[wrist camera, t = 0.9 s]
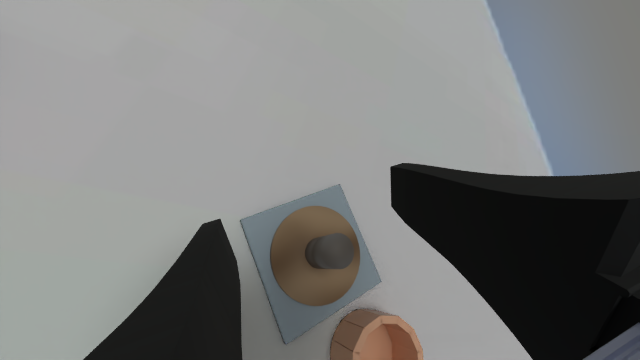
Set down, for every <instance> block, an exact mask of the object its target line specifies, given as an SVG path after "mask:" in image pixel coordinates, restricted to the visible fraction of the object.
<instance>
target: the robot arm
mask: <svg viewBox="0 0 640 360" xmlns="http://www.w3.org/2000/svg"><path fill="white" fill-rule="evenodd" d="M391 207H392V208H393V209H394V210H395V212H396V213H397V214H398V215H399V216H400V217H401V219H402V220H403V221H404V222H405V223H406V224H407V225H408V226H409V227H410V228H411V229H413V230H414V231H415V232H416V233H417V234H418V235H419V236H421V237H422V238H423V239H424V240H425V241H426V242H427V243H429V244H430V245H431V246H432V247H433V248H434V249H436V250H437V251H438V252H439V253H440V254H441V255H442V256H444V257H445V258H446V259H447V260H448V261H449V262H450V263H451V264H452V265H453V266H454V267H455V268H456V269H457V270H458V271H459V272H460V273H461V274H462V275H463V276H464V277H465V278H466V280H467V281H468V282H469V283H470V284H471V285H472V286H473V287H474V288H475V289H476V290H477V292H478V293H479V294H480V295H481V296H482V297H483V298H484V300H485V301H486V302H487V303H488V304H489V305H490V306H491V308H492V309H493V310H494V311H495V312H496V314H497V315H498V316H499V317H500V318H501V320H502V321H503V322H504V323H505V325H506V326H507V327H508V328H509V329H510V331H511V332H512V333H513V334H514V336H515V337H516V338H517V339H518V341H519V342H520V343H521V345H522V346H523V347H524V349H525V350H526V351H527V353H528V354H529V355H530V356H531V358H532V359H533V360H640V171H637V172H626V173H616V174H601V175H583V176H514V175H497V174H486V173H477V172H469V171H461V170H454V169H447V168H441V167H434V166H427V165H420V164H411V163H401V164H398V165H395V166H392V167H391ZM83 360H242V347H241V292H240V279H239V272H238V266H237V260H236V258H235V255H234V253H233V250H232V247H231V245H230V242H229V240H228V237H227V235H226V232H225V230H224V227H223V225H222V222H221V220H220V219H217V220H214V221H211V222H208V223H204V224H202V226H201V227H200V228H199V230H198V231H197V232H196V234H195V235H194V237H193V238H192V240H191V241H190V243H189V244H188V245H187V247H186V248H185V250H184V251H183V252H182V254H181V255H180V256H179V258H178V259H177V261H176V262H175V263H174V264H173V266H172V267H171V268H170V269H169V271H168V272H167V273H166V274H165V276H164V277H163V278H162V279H161V281H160V282H159V283H158V284H157V286H156V287H155V288H154V289H153V290H152V292H151V293H150V294H149V295H148V296H147V297H146V298H145V299H144V300H143V302H142V303H141V304H140V305H139V306H138V307H137V308H136V309H135V310H134V311H133V312H132V313H131V314H130V315H129V316H128V317H127V318H126V319H125V320H124V321H123V322H122V323H121V324H120V325H119V326H118V327H117V328H116V329H115V330H114V331H113V332H112V333H111V334H110V335H109V336H108V337H107V338H106V339H105V340H103V341H102V342H101V343H100V344H99V345H98V346H97V347H96V348H95V349H94V350H93V351H92V352H91V353H90V354H89V355H88V356H87V357H85V358H84V359H83Z"/></svg>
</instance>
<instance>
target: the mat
mask: <svg viewBox="0 0 640 360" xmlns="http://www.w3.org/2000/svg"><path fill="white" fill-rule="evenodd" d="M308 206H323V207H327V208H330V209H332V210H334V211H336V212H338V213H339V214H340V215H342V216H343V217H344V218H345V219H346V220H347V221H348V222H349V224H350V225H351V227H352V228H353V230H354V232H355V234H356V236H357V239H358V243H359V247H360V266H359V271H358V274H357V277H356V279H355V281H354V283H353V285H352V286H351V288H350V289H349V290H348V292H347V293H346V294H345V295H344V296H343V297H341V298H340V299H338V300H337V301H335V302H333V303H331V304H328V305H323V306H309V305H305V304H302V303H300V302H297V301H295V300H294V299H292V298H291V297H289V296H288V295H287V294H286V293H285V292H284V291H283V290H282V289H281V288H280V286H279V285H278V283H277V282H276V280H275V277H274V275H273V272H272V268H271V263H270V249H271V243H272V239H273V237H274V234H275V232H276V230H277V228H278V227H279V225H280V224H281V223H282V221H283V220H284V219H285V218H286V217H288V216H289V215H290V214H292V213H293V212H295V211H297V210H299V209H301V208H304V207H308ZM240 222H241V225H242V228H243V230H244V233H245V236H246V239H247V241H248V244H249V247H250V250H251V252H252V255H253V258H254V261H255V264H256V266H257V269H258V272H259V275H260V277H261V280H262V283H263V286H264V288H265V291H266V294H267V297H268V299H269V302H270V305H271V308H272V310H273V313H274V316H275V319H276V321H277V324H278V327H279V330H280V332H281V335H282V338H283V341H284V343H285V344H288V343H289V342H291V341H292V340H294V339H295V338H297V337H298V336H300V335H301V334H303V333H304V332H306V331H308V330H309V329H311V328H312V327H314V326H315V325H317V324H318V323H320V322H321V321H323V320H324V319H326V318H327V317H329V316H330V315H332V314H333V313H335V312H336V311H338V310H339V309H341V308H342V307H344V306H345V305H347V304H349V303H350V302H352V301H353V300H355V299H356V298H358V297H359V296H361V295H362V294H364V293H365V292H367V291H368V290H370V289H371V288H373V287H374V286H376V285H377V284H379V283H380V282H382V281H381V279H380V277H379V274H378V272H377V270H376V267H375V265H374V263H373V260H372V258H371V256H370V253H369V251H368V249H367V246H366V244H365V242H364V239H363V237H362V235H361V232H360V230H359V228H358V225H357V223H356V221H355V218H354V216H353V214H352V211H351V209H350V207H349V204H348V202H347V200H346V197H345V195H344V193H343V190H342V188H341V186H340V184H339V185H336V186H333V187H330V188H328V189H325V190H322V191H319V192H316V193H314V194H311V195H308V196H305V197H303V198H300V199H297V200H294V201H291V202H289V203H286V204H283V205H280V206H278V207H275V208H272V209H269V210H266V211H264V212H261V213H258V214H255V215H253V216H250V217H247V218H244V219H241V220H240Z"/></svg>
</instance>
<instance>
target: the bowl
mask: <svg viewBox="0 0 640 360" xmlns="http://www.w3.org/2000/svg"><path fill="white" fill-rule="evenodd" d="M330 360H423V349H422V347H421V345H420V342H419V340H418V338H417V335H416V333H415V331H414V329H413V328H412V327H411V326H410V325H409V324H407V323H406V322H405V321H404V320H403V319H401V318H400V317H399V316H396V315H392V314H388V313H385V312H381V311H377V310H369V309H358V310H355V311H352V312H351V313H349V314H348V315H346V316H345V317H344V318H343V319H342V320H341V322H340V323H339V325H338V326H337V328H336V330H335V332H334V335H333V338H332V342H331V349H330Z"/></svg>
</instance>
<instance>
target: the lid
mask: <svg viewBox="0 0 640 360" xmlns="http://www.w3.org/2000/svg"><path fill="white" fill-rule="evenodd" d="M270 263H271V268H272V272H273V275H274V277H275V280H276V282H277V283H278V285H279V286H280V288H281V289H282V290H283V291H284V292H285V293H286V294H287V295H288V296H289V297H291V298H292V299H294V300H295V301H297V302H300V303H302V304H305V305H309V306H323V305H328V304H331V303H333V302H335V301H337V300H338V299H340V298H341V297H343V296H344V295H345V294H346V293H347V292H348V290H349V289H350V288H351V286H352V285H353V283H354V281H355V279H356V277H357V274H358V271H359V266H360V247H359V243H358V239H357V236H356V234H355V232H354V230H353V228H352V227H351V225H350V224H349V222H348V221H347V220H346V219H345V218H344V217H343V216H342V215H340V214H339V213H338V212H336V211H334V210H332V209H330V208H327V207H323V206H308V207H304V208H301V209H299V210H297V211H295V212H293V213H292V214H290V215H289V216H288V217H286V218H285V219H284V220H283V221H282V223H281V224H280V225H279V227H278V228H277V230H276V232H275V234H274V237H273V239H272V243H271V249H270Z"/></svg>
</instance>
